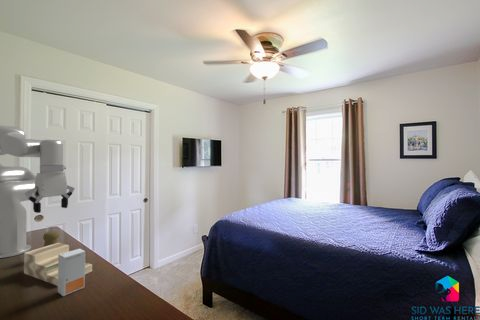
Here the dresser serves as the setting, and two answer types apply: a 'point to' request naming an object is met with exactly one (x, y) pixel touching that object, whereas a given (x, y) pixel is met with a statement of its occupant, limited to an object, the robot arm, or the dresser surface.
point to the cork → (51, 238)
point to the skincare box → (71, 271)
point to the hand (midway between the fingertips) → (51, 209)
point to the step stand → (47, 262)
